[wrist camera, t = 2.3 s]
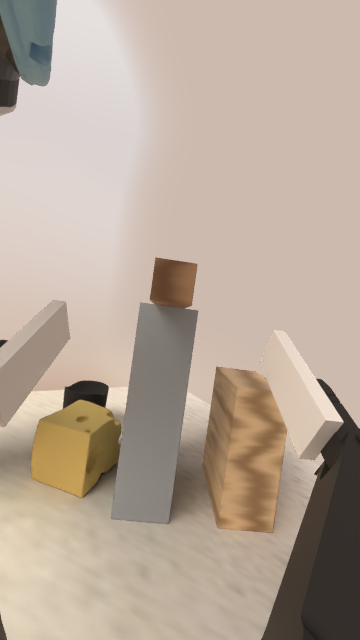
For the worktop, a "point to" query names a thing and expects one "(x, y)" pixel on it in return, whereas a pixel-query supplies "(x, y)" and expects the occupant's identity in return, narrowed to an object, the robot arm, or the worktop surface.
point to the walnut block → (173, 283)
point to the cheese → (75, 447)
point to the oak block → (244, 451)
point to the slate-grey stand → (154, 413)
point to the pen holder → (86, 393)
